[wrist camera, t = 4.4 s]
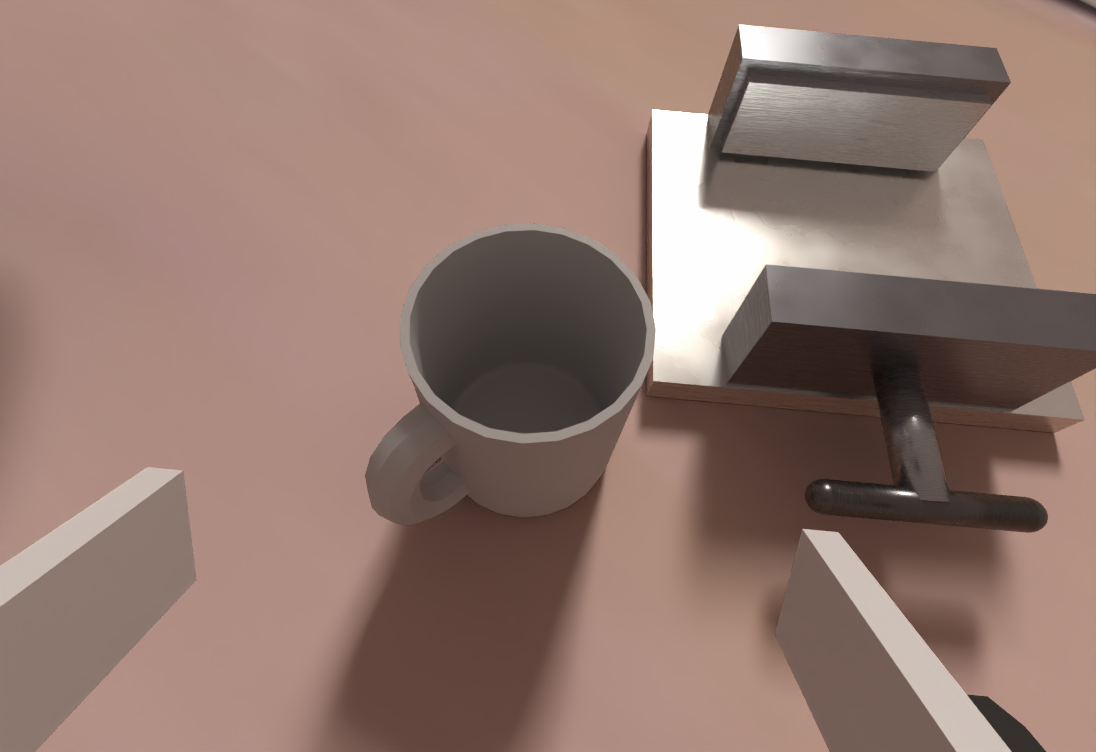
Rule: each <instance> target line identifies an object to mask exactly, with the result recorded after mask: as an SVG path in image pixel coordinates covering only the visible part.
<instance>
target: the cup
mask: <svg viewBox="0 0 1096 752" xmlns="http://www.w3.org/2000/svg"><path fill="white" fill-rule="evenodd" d="M655 335H656V327H655V322H654V317H653V312H652V307H651V302H650V300H649V298H648V296H647V294H646V292H645V291H644V289H643V287H642V285H641V283H640V281H639V279H638V278H637V276H636V275H635V274H634V273H633V272H632V271H631V269H630V268H629V267H628V266H627V265H626V264H625V263H624V262H623V261H622V260H621V259H620V258H619V257H618V255H616V254H615V253H613V252H612V251H610V250H609V249H607V248H606V247H604V246H603V245H601V244H600V243H598V242H596V241H595V240H593V239H591V238H589V237H586V236H584V235H581V234H578V233H576V232H573V231H571V230H568V229H565V228H560V227H554V226H548V225H541V224H535V223H533V224H511V225H502V226H498V227H494V228H490V229H486V230H482V231H479V232H475V233H473V234H471V235H469V236H467V237H465V238H463V239H461V240H459V241H457V242H455V243H453V244H451V245H449V246H448V247H447V248H445V249H444V250H443V251H442V252H441V253H440V254H438V255H437V256H436V257H435V258H434V259H433V260H431V261H430V262H429V263H428V264H427V265H426V266H425V267H424V269H423V270H422V272H421V273H420V275H419V276H418V277H417V279H416V280H415V282H414V283H413V285H412V286H411V288H410V289H409V292H408V295H407V298H406V301H405V304H404V307H403V310H402V313H401V325H400V346H401V350H402V353H403V356H404V360H405V363H406V366H407V370H408V373H409V375H410V378H411V380H412V382H413V384H414V387H415V390H416V393H417V396H418V399H419V402H420V404H419V405H418V406H417V407H415V408H414V409H413V410H412V411H410V412H409V413H408V414H407V415H405V416H404V417H403V418H402V419H401V420H400V421H399V422H398V423H397V424H396V425H395V426H394V427H393V428H392V429H391V430H390V431H389V432H388V433H387V434H386V435H385V436H384V437H383V439H382V440H381V442H380V444H379V445H378V447H377V448H376V450H375V451H374V453H373V454H372V456H371V457H370V460H369V464H368V467H367V471H366V474H365V477H366V483H367V489H368V493H369V497H370V502H371V506H372V508H373V509H374V510H375V511H376V512H377V513H378V515H380V516H382V517H384V518H386V519H388V520H390V521H392V522H394V523H396V524H400V525H405V526H408V525H413V524H418V523H421V522H423V521H426V520H428V519H430V518H433V517H435V516H437V515H439V514H441V513H443V512H445V511H446V510H448V509H449V508H451V507H452V506H453V505H455V504H456V503H458V502H459V501H460V500H461V499H462V498H464V497H465V496H466V495H467V496H469V497H470V498H471V499H472V500H473V501H474V502H476V503H477V504H479V505H481V506H483V507H485V508H487V509H490V510H492V511H494V512H496V513H498V514H504V515H510V516H515V517H521V518H522V517H534V516H545V515H548V514H551V513H554V512H556V511H559V510H562V509H564V508H567V507H569V506H570V505H572V504H573V503H574V502H576V501H577V500H579V499H580V498H582V497H583V496H584V495H586V494H587V493H588V491H589V490H590V489H591V488H592V487H593V485H594V484H595V483H596V482H597V480H598V479H599V478H600V477H601V475H602V474H603V472H604V471H605V468H606V466H607V464H608V461H609V459H610V457H611V454H612V452H613V450H614V448H615V445H616V443H617V441H618V438H619V436H620V434H621V432H622V429H623V427H624V425H625V422H626V420H627V418H628V415H629V413H630V411H631V409H632V406H633V404H634V402H635V399H636V397H637V395H638V393H639V390H640V388H641V386H642V383H643V381H644V379H645V376H646V374H647V372H648V369H649V367H650V365H651V362H652V360H653V356H654V345H655ZM439 457H441V461H439V462H438V463H437V464H436V465H434V466H433V467H432V468H431V469H429V468H430V467H431V465H432V464H433V463H434V462H435V461H436V460H437V459H438V458H439ZM428 469H429V470H428ZM427 470H428V471H427Z"/></svg>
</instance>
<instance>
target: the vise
mask: <svg viewBox="0 0 1096 752" xmlns="http://www.w3.org/2000/svg"><path fill="white" fill-rule="evenodd" d="M1010 83H1011V82H1010V79H1009V77H1008V75H1007V72H1006V70H1005V67H1004V65H1003V63H1002V60H1001V58H1000V56H999V53H998V51H997V48H988V47H977V46H966V45H956V44H945V43H934V42H923V41H912V40H901V39H890V38H880V37H869V36H858V35H847V34H836V33H825V32H814V31H803V30H793V29H782V28H771V27H760V26H749V25H739V26H738V29H737V32H736V35H735V38H734V41H733V44H732V47H731V49H730V52H729V55H728V58H727V61H726V64H725V67H724V70H723V73H722V76H721V79H720V82H719V85H718V87H717V90H716V93H715V96H714V99H713V102H712V105H711V108H710V111H709V114H708V115H705V114H694V113H683V112H672V111H662V110H652V114H651V118H650V122H649V126H648V130H647V296H648V298H649V300H650V302H651V307H652V312H653V317H654V322H655V327H656V335H655V345H654V356H653V360H652V362H651V365H650V367H649V369H648V372H647V374H646V396H652V397H663V398H674V399H685V400H697V401H708V402H719V403H730V404H741V405H752V406H763V407H775V408H786V409H797V410H808V411H819V412H830V413H841V414H853V415H864V416H875V417H881V422H882V427H883V432H884V437H885V443H886V448H887V453H888V458H889V463H890V468H891V474H892V479H893V484H894V485H884V484H873V483H862V482H850V481H839V480H828V479H819V480H815V481H813V482H812V483H810V484H809V486H808V487H807V489H806V492H805V499H806V502H807V504H808V506H809V507H810V508H811V509H812V510H814V511H815V512H817V513H820V514H825V515H836V516H847V517H859V518H870V519H881V520H892V521H903V522H915V523H926V524H937V525H948V526H959V527H971V528H982V529H993V530H1004V531H1016V532H1036V531H1039V530H1040V529H1042V528H1043V527H1044V526H1045V525H1046V523H1047V520H1048V514H1047V511H1046V509H1045V508H1044V507H1043V505H1042V504H1040V503H1039V502H1038V501H1036V500H1034V499H1031V498H1027V497H1018V496H1007V495H996V494H985V493H974V492H962V491H951V490H949V488H948V484H947V480H946V476H945V471H944V467H943V463H942V459H941V454H940V450H939V446H938V442H937V437H936V433H935V429H934V425H933V422H942V423H953V424H964V425H975V426H986V427H998V428H1009V429H1020V430H1031V431H1042V432H1053V433H1055V432H1058V431H1060V430H1062V429H1065V428H1067V427H1069V426H1071V425H1074V424H1076V423H1078V422H1081V421H1083V420H1085V419H1084V416H1083V413H1082V411H1081V408H1080V405H1079V402H1078V400H1077V397H1076V394H1075V391H1074V389H1073V386H1072V383H1071V381H1072V380H1074V379H1076V378H1078V377H1080V376H1081V375H1083V374H1085V373H1087V372H1089V371H1091V370H1093V369H1095V368H1096V294H1087V293H1076V292H1065V291H1060V290H1049V289H1038V288H1037V287H1036V284H1035V281H1034V279H1033V276H1032V273H1031V270H1030V268H1029V265H1028V262H1027V259H1026V257H1025V254H1024V251H1023V248H1022V246H1021V243H1020V240H1019V237H1018V235H1017V232H1016V229H1015V226H1014V224H1013V221H1012V218H1011V215H1010V213H1009V210H1008V207H1007V204H1006V202H1005V199H1004V196H1003V193H1002V191H1001V188H1000V185H999V182H998V180H997V177H996V174H995V171H994V169H993V166H992V163H991V160H990V158H989V155H988V152H987V149H986V147H985V144H984V141H983V140H979V139H968V138H965V136H966V135H967V134H968V133H969V132H970V130H971V129H972V128H973V127H974V126H975V125H976V123H977V122H978V121H979V120H980V119H981V117H982V116H983V115H984V114H985V113H986V112H987V110H988V109H989V108H990V107H991V106H992V104H993V103H994V102H995V101H996V100H997V98H998V97H999V96H1000V95H1001V94H1002V93H1003V91H1004V90H1005V89H1006V88H1007V87H1008V85H1009V84H1010Z"/></svg>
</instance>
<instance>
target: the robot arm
mask: <svg viewBox="0 0 1096 752" xmlns="http://www.w3.org/2000/svg"><path fill="white" fill-rule="evenodd" d="M195 581H196V572H195V564H194V556H193V547H192V539H191V531H190V522H189V514H188V506H187V497H186V489H185V481H184V472H183V471H182V470H171V469H160V468H150V467H147V468H145V469H144V470H142V471H141V472H139V473H138V474H136V475H135V476H133V477H132V478H130V479H129V480H127V481H126V482H124V483H123V484H121V485H120V486H118V487H117V488H116V489H114V490H113V491H111V492H110V493H108V494H107V495H105V496H104V497H102V498H101V499H99V500H98V501H96V502H95V503H93V504H92V505H90V506H89V507H87V508H86V509H84V510H83V511H81V512H80V513H78V514H77V515H75V516H74V517H72V518H71V519H69V520H68V521H66V522H65V523H63V524H62V525H60V526H59V527H57V528H56V529H54V530H53V531H51V532H50V533H48V534H47V535H45V536H44V537H42V538H41V539H40V540H38V541H37V542H35V543H34V544H32V545H31V546H29V547H28V548H26V549H25V550H23V551H22V552H20V553H19V554H17V555H16V556H14V557H13V558H11V559H10V560H8V561H7V562H5V563H4V564H2V565H1V566H0V752H35V751H36V750H37V749H38V748H39V747H40V746H41V745H42V744H43V743H44V742H45V741H46V740H47V739H48V737H49V736H50V735H51V734H52V733H53V732H54V731H55V730H56V729H57V728H58V727H59V726H60V725H61V724H62V723H63V722H64V720H65V719H66V718H67V717H68V716H69V715H70V714H71V713H72V712H73V711H74V710H75V709H76V708H77V707H78V706H79V704H80V703H81V702H82V701H83V700H84V699H85V698H86V697H87V696H88V695H89V694H90V693H91V692H92V691H93V690H94V688H95V687H96V686H97V685H98V684H99V683H100V682H101V681H102V680H103V679H104V678H105V677H106V676H107V675H108V674H109V672H110V671H111V670H112V669H113V668H114V667H115V666H116V665H117V664H118V663H119V662H120V661H121V660H122V659H123V658H124V656H125V655H126V654H127V653H128V652H129V651H130V650H131V649H132V648H133V647H134V646H135V645H136V644H137V643H138V642H139V641H140V639H141V638H142V637H143V636H144V635H145V634H146V633H147V632H148V631H149V630H150V629H151V628H152V627H153V626H154V625H155V623H156V622H157V621H158V620H159V619H160V618H161V617H162V616H163V615H164V614H165V613H166V612H167V611H168V610H169V609H170V607H171V606H172V605H173V604H174V603H175V602H176V601H177V600H178V599H179V598H180V597H181V596H182V595H183V594H184V593H185V591H186V590H187V589H188V588H189V587H190V586H191V585H192V584H193V583H194V582H195ZM775 636H776V638H777V640H778V642H779V644H780V646H781V649H782V651H783V653H784V655H785V657H786V659H787V661H788V664H789V666H790V668H791V670H792V672H793V674H794V676H795V679H796V681H797V683H798V685H799V687H800V689H801V691H802V694H803V696H804V698H805V700H806V702H807V704H808V706H809V709H810V711H811V713H812V715H813V717H814V719H815V721H816V724H817V726H818V728H819V730H820V732H821V734H822V736H823V739H824V741H825V743H826V745H827V747H828V749H829V751H830V752H1046V751H1045V750H1044V749H1043V747H1042V746H1041V745H1040V744H1039V743H1038V742H1037V740H1036V739H1035V738H1034V737H1033V736H1032V734H1031V733H1030V732H1029V731H1028V730H1027V729H1026V727H1025V726H1023V725H1022V724H1021V723H1020V722H1019V721H1017V720H1016V719H1015V718H1014V717H1012V716H1011V715H1010V714H1009V713H1007V712H1006V711H1005V710H1004V709H1002V708H1001V707H1000V706H999V705H997V704H996V703H995V702H994V701H992V700H991V699H990V698H989V697H986V696H976V695H967V694H966V693H965V692H964V691H963V689H962V688H961V687H960V686H959V684H958V683H957V682H956V681H955V679H954V678H953V677H952V675H951V674H950V673H949V672H948V670H947V669H946V668H945V667H944V665H943V664H942V663H941V662H940V660H939V659H938V658H937V656H936V655H935V654H934V653H933V651H932V650H931V649H930V648H929V646H928V645H927V644H926V643H925V641H924V640H923V639H922V637H921V636H920V635H919V634H918V632H917V631H916V630H915V629H914V627H913V626H912V625H911V624H910V622H909V621H908V620H907V618H906V617H905V616H904V615H903V613H902V612H901V611H900V610H899V608H898V607H897V606H896V605H895V603H894V602H893V601H892V599H891V598H890V597H889V596H888V594H887V593H886V592H885V591H884V589H883V588H882V587H881V585H880V584H879V583H878V582H877V580H876V579H875V578H874V577H873V575H872V574H871V573H870V572H869V570H868V569H867V568H866V566H865V565H864V564H863V563H862V561H861V560H860V559H859V558H858V556H857V555H856V554H855V553H854V551H853V550H852V549H851V547H850V546H849V545H848V544H847V542H846V541H845V540H844V539H843V537H842V536H841V535H840V534H839V532H831V531H820V530H810V529H802V532H801V536H800V540H799V543H798V547H797V551H796V555H795V559H794V563H793V566H792V570H791V574H790V578H789V582H788V585H787V589H786V593H785V597H784V601H783V605H782V608H781V612H780V616H779V620H778V624H777V627H776V631H775Z"/></svg>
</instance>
